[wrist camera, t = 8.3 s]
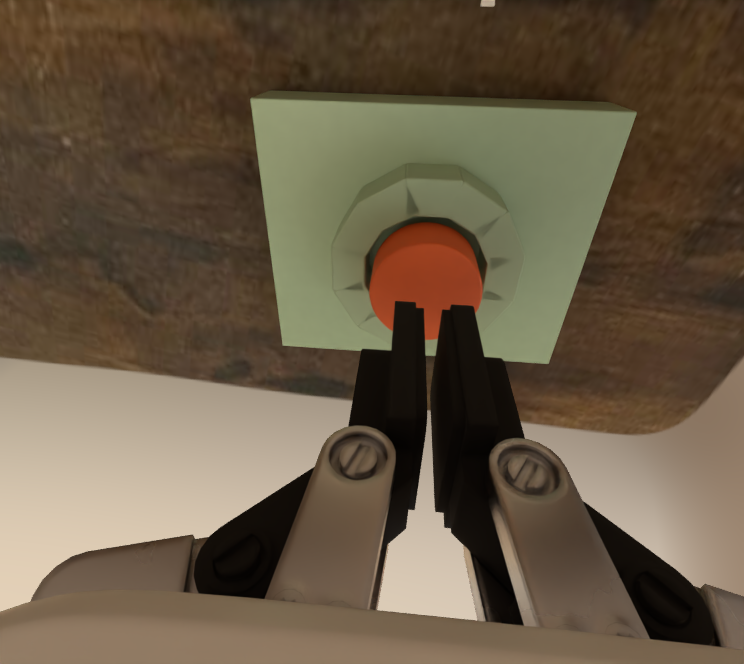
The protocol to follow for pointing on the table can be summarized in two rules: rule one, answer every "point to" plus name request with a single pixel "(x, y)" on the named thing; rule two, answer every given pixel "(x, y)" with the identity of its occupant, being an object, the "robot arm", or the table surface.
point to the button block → (432, 204)
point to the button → (424, 273)
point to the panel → (487, 3)
